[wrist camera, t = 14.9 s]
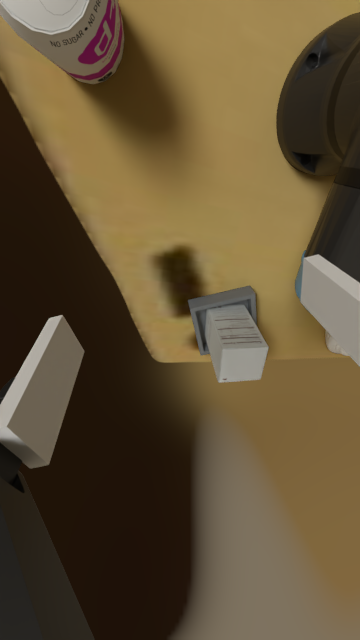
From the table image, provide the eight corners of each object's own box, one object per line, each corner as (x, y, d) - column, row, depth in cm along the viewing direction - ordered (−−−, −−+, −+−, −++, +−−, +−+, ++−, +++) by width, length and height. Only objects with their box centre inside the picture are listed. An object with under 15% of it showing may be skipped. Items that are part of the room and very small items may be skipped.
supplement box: (239, 333, 53) (261, 381, 42) (203, 335, 52) (216, 384, 42) (245, 302, 48) (270, 347, 38) (206, 304, 48) (221, 349, 37)
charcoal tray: (249, 285, 47) (255, 293, 44) (252, 333, 54) (257, 342, 51) (188, 300, 47) (189, 308, 45) (198, 345, 54) (200, 355, 52)
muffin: (327, 317, 53) (348, 338, 47) (352, 320, 54) (376, 341, 48) (313, 340, 56) (331, 362, 51) (337, 342, 58) (357, 365, 52)
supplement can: (139, 25, 27) (130, -67, 15) (101, 103, 31) (68, 80, 18) (65, -58, 24) (-24, -262, 12) (31, 41, 27) (-66, -38, 15)
